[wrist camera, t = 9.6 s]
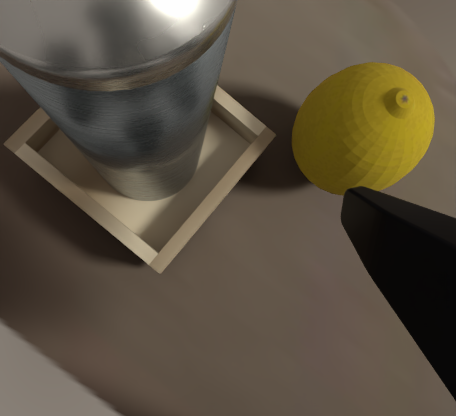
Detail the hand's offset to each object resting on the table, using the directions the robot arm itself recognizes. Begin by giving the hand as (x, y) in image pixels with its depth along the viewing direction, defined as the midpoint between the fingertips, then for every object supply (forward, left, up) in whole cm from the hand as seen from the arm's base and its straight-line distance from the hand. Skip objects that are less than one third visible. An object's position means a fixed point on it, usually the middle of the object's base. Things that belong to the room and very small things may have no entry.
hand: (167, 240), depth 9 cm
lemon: (-3, -9, -12) cm, 15 cm away
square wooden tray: (+4, -3, -11) cm, 12 cm away
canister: (+4, -3, -9) cm, 10 cm away
